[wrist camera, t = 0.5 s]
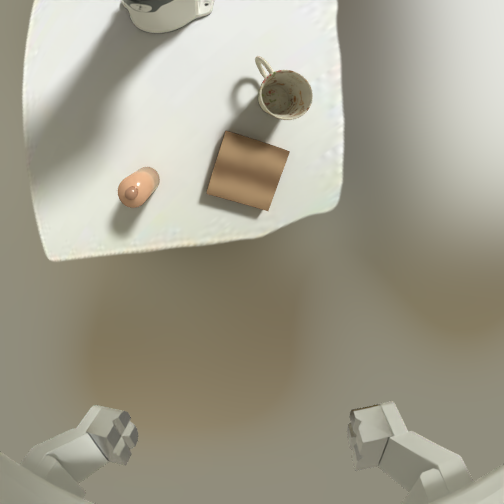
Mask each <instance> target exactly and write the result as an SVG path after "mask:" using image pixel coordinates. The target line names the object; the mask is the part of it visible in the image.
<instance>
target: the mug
mask: <svg viewBox="0 0 504 504" xmlns="http://www.w3.org/2000/svg"><path fill="white" fill-rule="evenodd" d="M255 62H256V65H257V67H258V69H259V71H260V73H261V75H262V76H263V77H264V81H263V82H262V84H261V87H260V91H259V96H258V101H259V105H260V107H261V108H262V109H263V110H264V111H265V112H266V113H268V114H270V115H272V116H274V117H276V118H278V119H283V120H292V119H296V118H299V117H301V116H302V115H304V114H305V113H306V112H307V111H308V109H309V108H310V106H311V103H312V97H313V95H312V89H311V87H310V85H309V83H308V81H307V80H306V79H305V78H304V77H303V76H302V75H300V74H298V73H296V72H294V71H290V70H279V71H275V72H274V71H273V70H272V68H271V67H270V65H269V64H268V63H267V61H266V60H265V59H263V58H262V57H260V56H257V57H256V58H255ZM261 63H262V64H263V65H264V66H265V68H266V69H267V71H268V72H269V74H270V75H268V76H267V75H266V73H265V71H264V69H263V68H262V66H261Z"/></svg>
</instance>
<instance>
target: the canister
mask: <svg viewBox="0 0 504 504" xmlns="http://www.w3.org/2000/svg"><path fill="white" fill-rule="evenodd" d="M159 181H160V179H159V175H158V173H157V171H156V170H154V169H153V168H151V167H143V168H141V169H139V170H138V171H136V172H134V173H133V174H131V175H130V176H128V177H127V178H125V179H124V180H122V182H121V183H120V185H119V187H118V196H119V199H120V201H121V202H122V203H123V204H124V205H125V206H127V207H131V208H136V207H139V206H141V205H142V204H143V203H144V202H145V201H146V200H147V199H148V197H149V196H150V195H151V194H152V193H153V192H154V191H155V190H156V188H157V187H158V185H159Z"/></svg>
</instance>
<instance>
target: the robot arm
mask: <svg viewBox="0 0 504 504" xmlns="http://www.w3.org/2000/svg"><path fill="white" fill-rule="evenodd" d="M122 4H123V5H124V7H125V8H127V9H128V11H129V14H130V18H131V20H132V22H133V23H134V25H135V26H136V27H138V28H139V29H141V30H143V31H146V32H150V33H164V32H169V31H173V30H176V29H178V28H180V27H182V26H184V25H186V24H187V23H189V22H190V21H192V20H194V19H196V18H199V17H203V16H206V15H209V14H210V13H211V12H212V9H213V5H214V0H122ZM205 4H208V6H205ZM130 419H131V417H130V415H129V414H128V412H126V411H121V410H116V409H111V408H107V407H102V406H98V405H94V406H92V407H91V409H90V410H89V411H88V413H87V414H86V416H85V417H84V418H83V420H82V421H81V422H80V424H79V425H78V426H77V428H76V429H71V430H69V431H67V432H64V433H62V434H60V435H58V436H56V437H54V438H51V439H49V440H47V441H45V442H42V443H40V444H38V445H36V446H33V447H32V449H31V450H30V451H29V453H28V454H27V455H26V457H25V458H24V459H23V461H22V462H21V463H20V465H19V464H18V463H16V462H15V461H13V460H12V459H10V458H9V457H7V456H6V455H5V454H3V453H2V452H0V504H95V503H93V502H90V501H88V500H85V499H83V498H84V496H85V494H86V492H85V490H84V489H83V488H82V487H81V486H80V485H79V483H80V482H82V481H83V480H85V479H86V478H87V477H89V476H90V475H92V474H93V473H94V472H96V471H97V470H99V469H100V468H101V467H103V466H104V465H106V464H107V463H108V461H110V462H113V463H117V464H122V465H126V464H127V462H128V460H129V458H130V456H131V451H130V449H131V448H133V447H135V446H136V443H137V441H138V431H137V428H136V426H135V425H134V424H132V423H131V422H130ZM350 421H351V423H349V424H348V434H347V435H348V436H347V437H348V443H349V448H351V449H352V450H353V454H352V461H353V465H354V469H355V471H357V470H362V469H367V468H372V467H377V466H378V467H379V468H380V469H381V470H382V471H383V472H385V473H386V474H387V475H388V476H389V477H391V478H392V479H393V480H394V481H396V482H397V483H398V484H400V485H401V486H402V487H403V488H405V489H406V490H407V491H408V492H409V493H408V494H407V496H406V497H405V499H404V500H403V501H402V503H401V504H504V464H502V465H501V466H499V467H498V468H496V469H494V470H493V471H491V472H490V473H488V474H486V475H485V476H483V477H481V478H480V479H478V480H476V481H473V479H472V477H471V475H470V473H469V471H468V469H467V467H466V465H465V464H464V462H463V460H462V458H461V456H460V455H458V454H455V453H453V452H451V451H449V450H447V449H445V448H443V447H441V446H439V445H437V444H435V443H433V442H432V441H430V440H428V439H426V438H424V437H422V436H420V435H419V434H417V433H415V432H413V431H410V432H408V430H407V428H406V426H405V424H404V422H403V420H402V418H401V416H400V413H399V411H398V409H397V407H396V405H395V403H394V402H393V401H390V402H386V403H381V404H377V405H372V406H367V407H363V408H357V409H352V410H351V412H350Z"/></svg>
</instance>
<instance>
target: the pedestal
mask: <svg viewBox="0 0 504 504" xmlns="http://www.w3.org/2000/svg"><path fill="white" fill-rule="evenodd" d="M289 152H290V151H287V150H284V149H282V148H279V147H276V146H273V145H270V144H267V143H264V142H261V141H258V140H255V139H252V138H249V137H245V136H242V135H239V134H236V133H232V132H229V131H225V134H224V137H223V140H222V143H221V146H220V149H219V152H218V156H217V159H216V162H215V165H214V168H213V172H212V175H211V178H210V181H209V185H208V188H207V193H206V194H209V195H213V196H216V197H220V198H224V199H227V200H231V201H235V202H238V203H242V204H245V205H249V206H252V207H256V208H259V209H262V210H266V211H268V210H269V207H270V205H271V202H272V199H273V196H274V194H275V191H276V188H277V185H278V183H279V180H280V177H281V174H282V172H283V169H284V166H285V163H286V161H287V158H288V155H289Z"/></svg>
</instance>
